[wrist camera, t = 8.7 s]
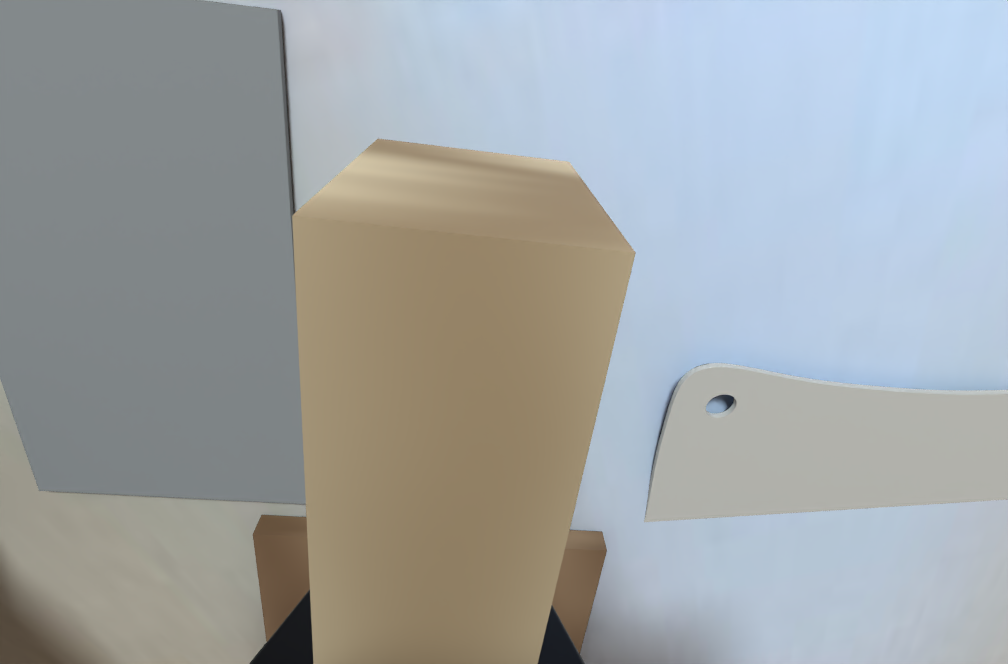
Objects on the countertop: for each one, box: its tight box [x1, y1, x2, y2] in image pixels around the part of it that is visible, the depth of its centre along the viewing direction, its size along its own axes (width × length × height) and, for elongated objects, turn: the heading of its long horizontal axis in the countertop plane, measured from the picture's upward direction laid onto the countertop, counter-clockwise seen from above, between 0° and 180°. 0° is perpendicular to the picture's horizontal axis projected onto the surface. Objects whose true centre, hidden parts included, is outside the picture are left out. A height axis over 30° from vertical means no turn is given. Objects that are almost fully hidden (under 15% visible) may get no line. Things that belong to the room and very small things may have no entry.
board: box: [253, 515, 607, 654], centre depth 26 cm, size 14×14×1 cm
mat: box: [0, 0, 306, 504], centre depth 18 cm, size 10×17×1 cm, turn 174°
